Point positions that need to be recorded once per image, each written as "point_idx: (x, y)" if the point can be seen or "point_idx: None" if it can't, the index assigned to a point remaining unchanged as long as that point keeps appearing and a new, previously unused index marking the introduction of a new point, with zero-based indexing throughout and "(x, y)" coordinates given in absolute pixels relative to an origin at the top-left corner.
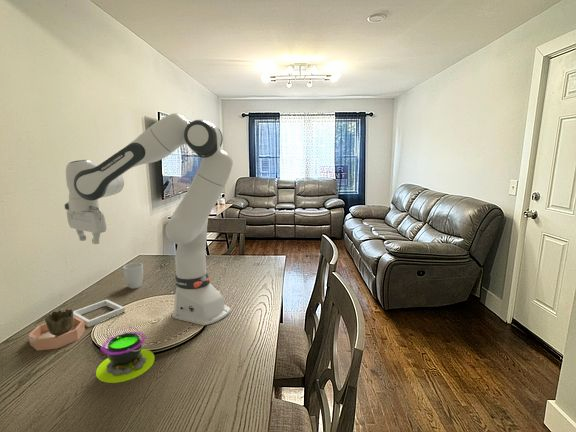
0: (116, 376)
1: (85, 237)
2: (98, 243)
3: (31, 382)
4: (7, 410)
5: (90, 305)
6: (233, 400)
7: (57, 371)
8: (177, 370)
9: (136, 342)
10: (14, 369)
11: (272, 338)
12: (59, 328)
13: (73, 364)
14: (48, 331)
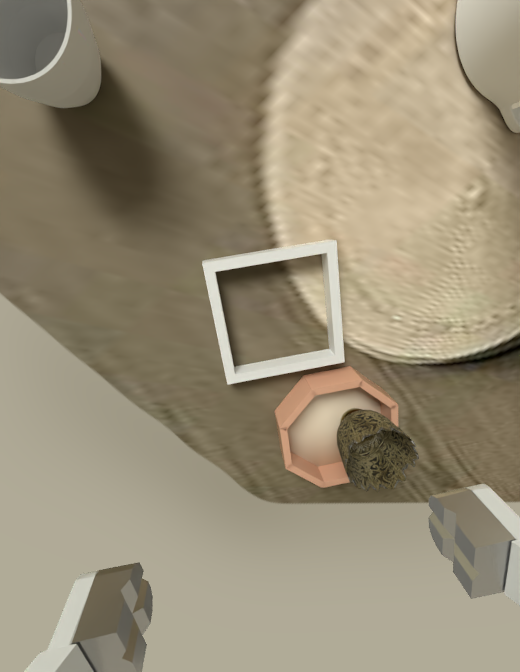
0: None
1: (128, 604)
2: (480, 487)
3: (463, 473)
4: (503, 499)
5: (218, 325)
6: None
7: (471, 439)
8: None
9: None
10: (393, 491)
11: None
12: (396, 448)
13: (476, 414)
14: (290, 437)
